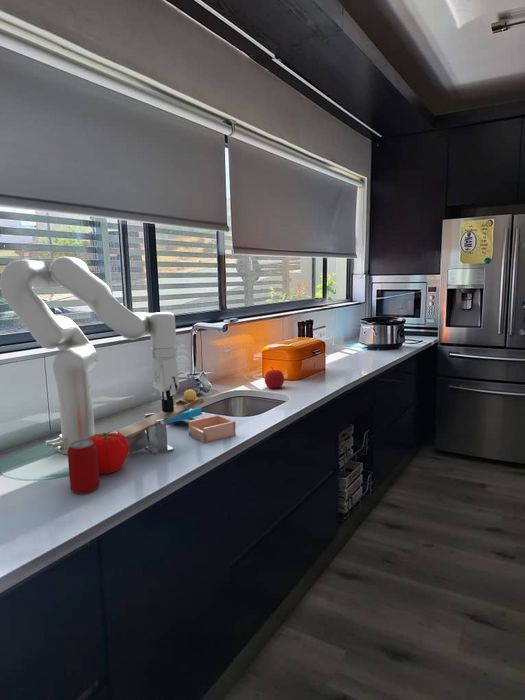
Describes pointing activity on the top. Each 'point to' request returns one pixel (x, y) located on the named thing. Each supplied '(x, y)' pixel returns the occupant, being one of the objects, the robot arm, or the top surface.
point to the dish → (212, 428)
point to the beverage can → (83, 466)
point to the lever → (153, 424)
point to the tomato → (110, 451)
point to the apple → (274, 379)
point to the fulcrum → (158, 437)
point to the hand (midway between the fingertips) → (168, 411)
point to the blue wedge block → (186, 415)
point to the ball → (190, 395)
